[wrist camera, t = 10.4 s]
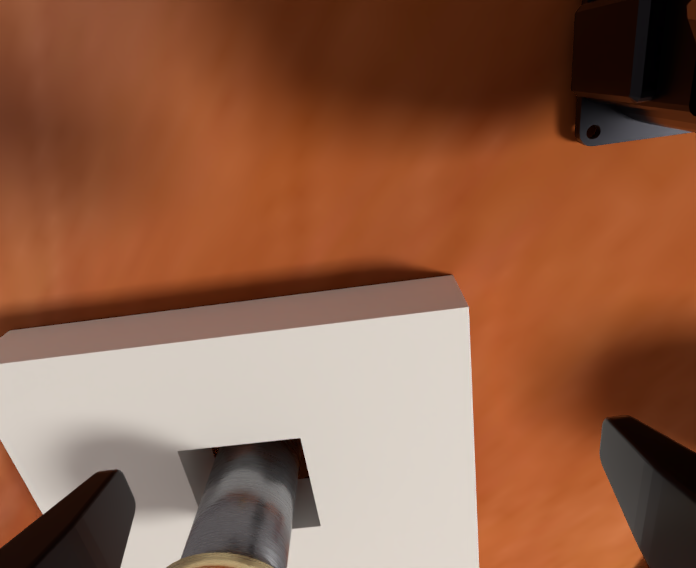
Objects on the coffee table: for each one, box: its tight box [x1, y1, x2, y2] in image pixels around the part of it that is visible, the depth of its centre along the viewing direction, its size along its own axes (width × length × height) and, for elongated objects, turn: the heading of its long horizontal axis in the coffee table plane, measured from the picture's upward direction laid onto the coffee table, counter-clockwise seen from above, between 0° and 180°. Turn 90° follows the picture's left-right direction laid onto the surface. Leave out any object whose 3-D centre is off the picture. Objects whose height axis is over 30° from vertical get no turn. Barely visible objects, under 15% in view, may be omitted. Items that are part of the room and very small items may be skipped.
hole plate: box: [0, 275, 479, 568], centre depth 23 cm, size 20×16×3 cm
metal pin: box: [166, 438, 302, 568], centre depth 20 cm, size 5×5×9 cm
